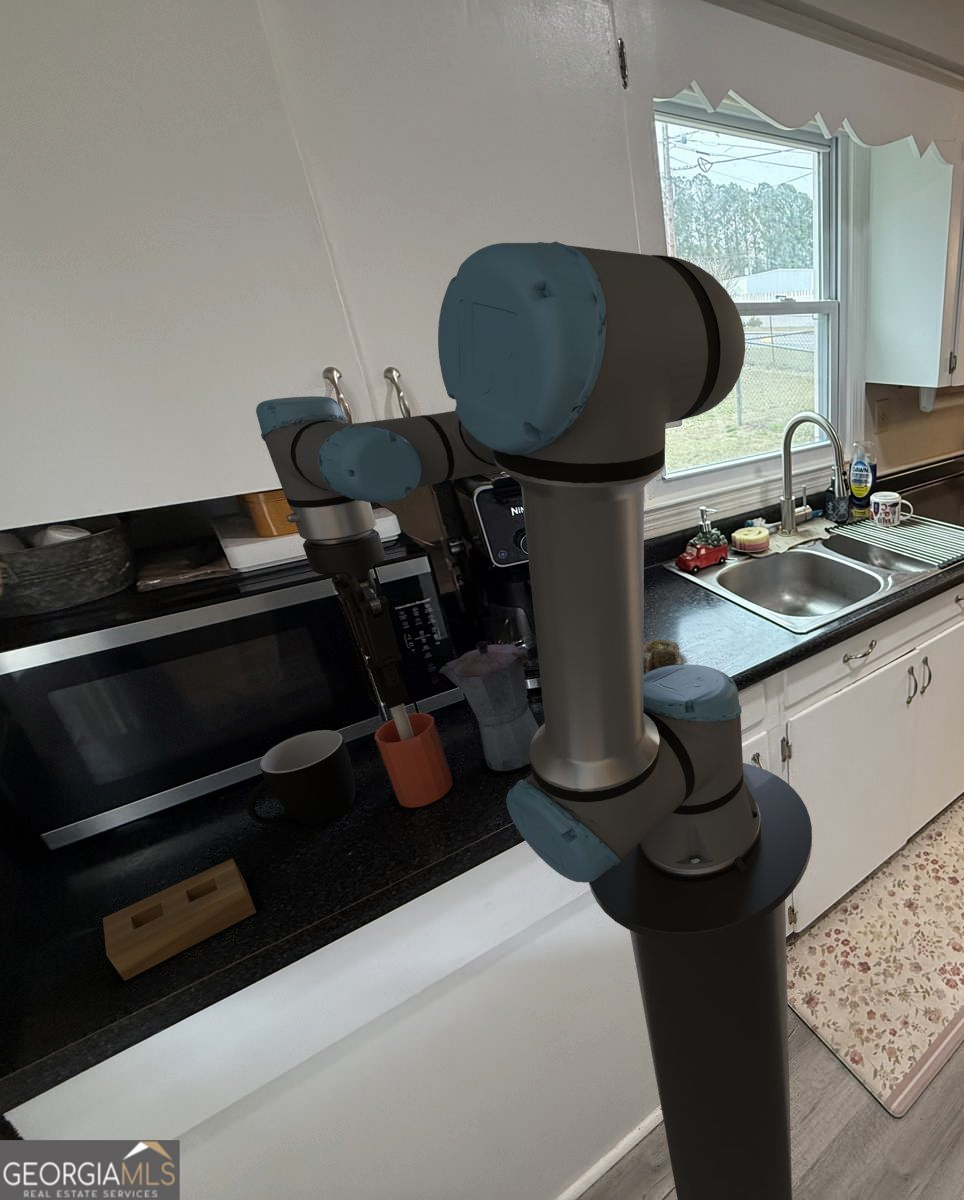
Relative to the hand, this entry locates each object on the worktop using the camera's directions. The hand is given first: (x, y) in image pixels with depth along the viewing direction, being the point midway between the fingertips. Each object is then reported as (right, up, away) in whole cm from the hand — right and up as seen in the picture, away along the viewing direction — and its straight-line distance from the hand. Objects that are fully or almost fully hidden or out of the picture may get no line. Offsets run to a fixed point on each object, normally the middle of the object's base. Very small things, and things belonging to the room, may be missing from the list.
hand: (395, 700), depth 83 cm
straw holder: (-14, -23, -14) cm, 31 cm away
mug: (-12, -16, +2) cm, 21 cm away
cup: (0, -14, +6) cm, 15 cm away
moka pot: (+10, -11, +14) cm, 20 cm away
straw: (0, -9, +4) cm, 9 cm away
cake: (+26, +1, +39) cm, 47 cm away
